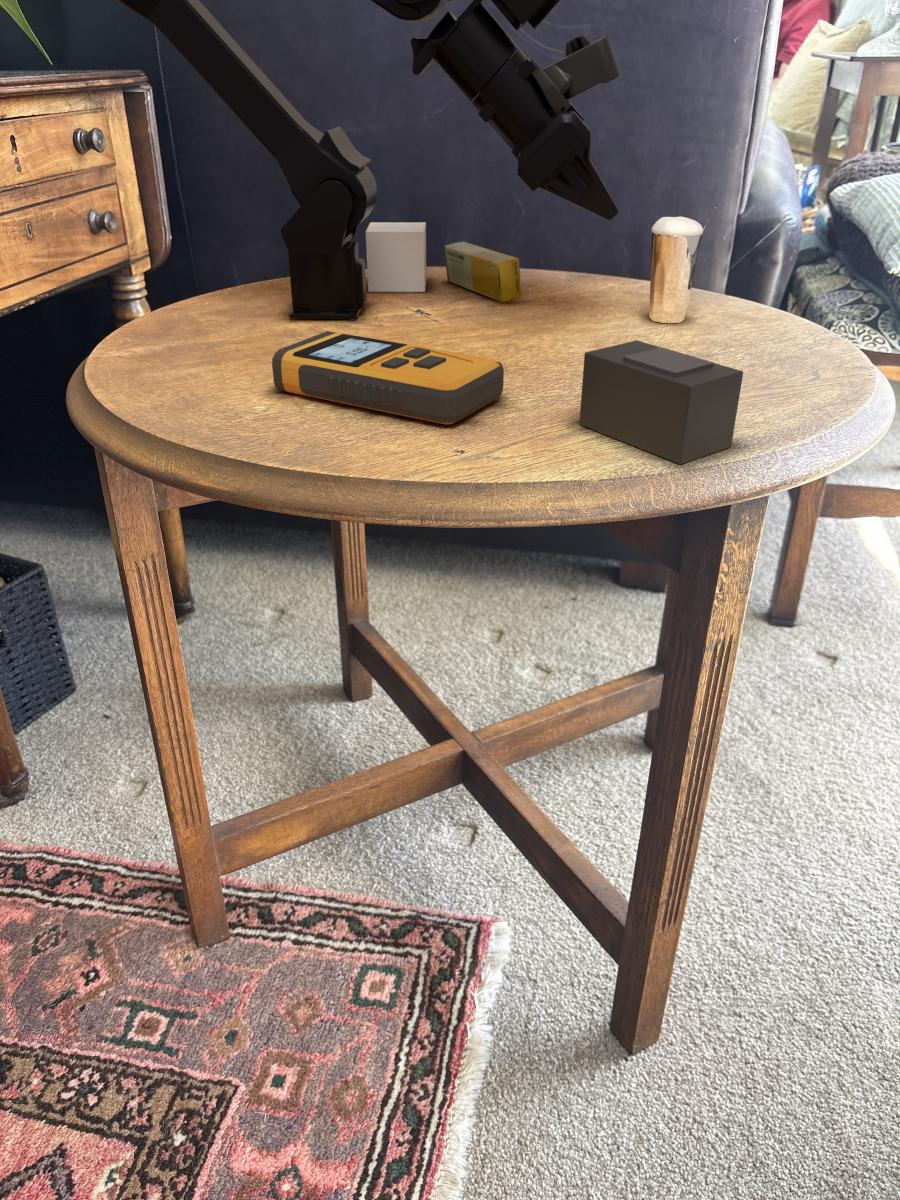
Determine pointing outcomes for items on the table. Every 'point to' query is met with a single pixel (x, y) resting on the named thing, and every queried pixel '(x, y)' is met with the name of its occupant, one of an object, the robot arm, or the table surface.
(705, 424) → the block
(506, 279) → the medication box
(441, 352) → the electronic device
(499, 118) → the robot arm
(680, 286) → the milkshake
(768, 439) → the table surface
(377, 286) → the white cube
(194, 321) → the table surface
